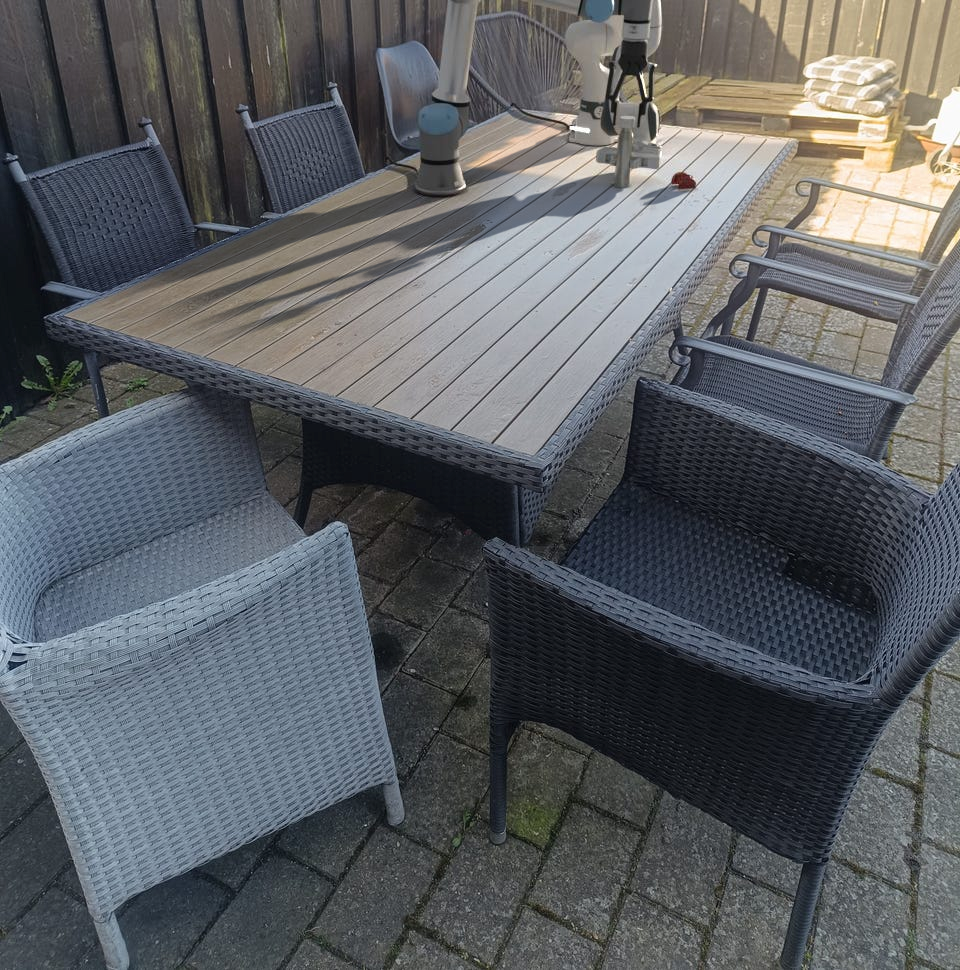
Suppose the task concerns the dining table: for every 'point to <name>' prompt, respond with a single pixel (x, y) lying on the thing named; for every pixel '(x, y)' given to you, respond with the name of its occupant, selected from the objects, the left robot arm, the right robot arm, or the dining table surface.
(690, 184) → the dental model
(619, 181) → the bottle
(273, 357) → the dining table surface
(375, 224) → the dining table surface
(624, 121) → the cap
